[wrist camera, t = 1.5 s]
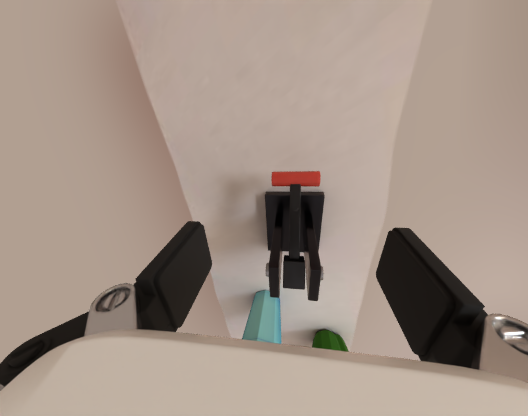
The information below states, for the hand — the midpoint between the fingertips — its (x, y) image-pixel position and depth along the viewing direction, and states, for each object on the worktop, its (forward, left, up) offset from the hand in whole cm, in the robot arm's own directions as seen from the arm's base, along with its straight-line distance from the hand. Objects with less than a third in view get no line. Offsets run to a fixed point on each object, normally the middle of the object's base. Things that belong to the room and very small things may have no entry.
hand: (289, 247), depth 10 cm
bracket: (+9, 0, -17) cm, 20 cm away
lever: (+6, +1, -11) cm, 12 cm away
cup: (+27, -5, -17) cm, 33 cm away
